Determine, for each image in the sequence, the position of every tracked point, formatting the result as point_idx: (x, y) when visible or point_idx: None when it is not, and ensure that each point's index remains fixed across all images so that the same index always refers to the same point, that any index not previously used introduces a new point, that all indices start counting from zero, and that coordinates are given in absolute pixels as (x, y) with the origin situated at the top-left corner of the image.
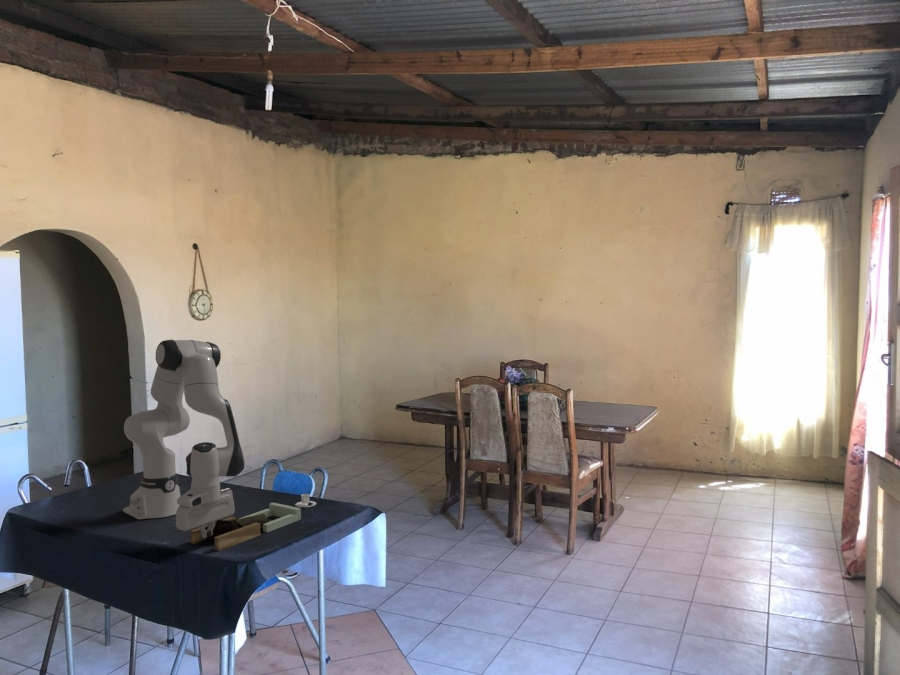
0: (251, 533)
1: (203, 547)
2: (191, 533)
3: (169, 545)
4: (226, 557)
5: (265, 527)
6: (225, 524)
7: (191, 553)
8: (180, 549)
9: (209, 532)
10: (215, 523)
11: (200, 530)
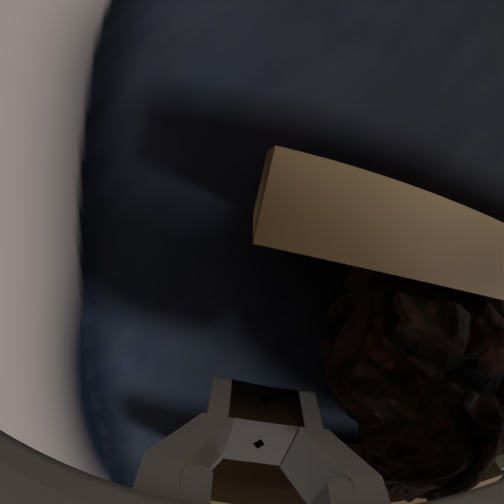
0: None
1: (212, 340)
2: (265, 176)
3: (152, 19)
4: None
5: (502, 455)
6: (413, 496)
7: (84, 330)
8: (101, 185)
9: (259, 453)
10: (464, 410)
11: (185, 427)
